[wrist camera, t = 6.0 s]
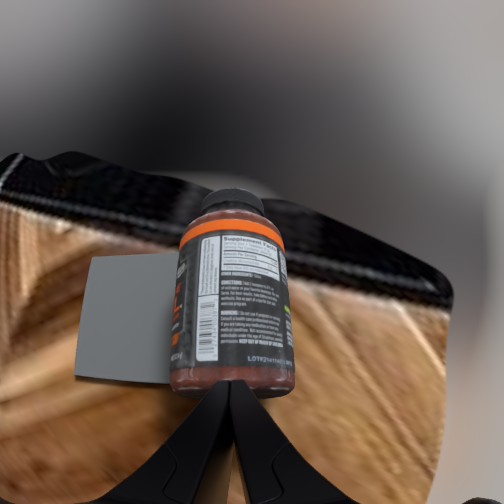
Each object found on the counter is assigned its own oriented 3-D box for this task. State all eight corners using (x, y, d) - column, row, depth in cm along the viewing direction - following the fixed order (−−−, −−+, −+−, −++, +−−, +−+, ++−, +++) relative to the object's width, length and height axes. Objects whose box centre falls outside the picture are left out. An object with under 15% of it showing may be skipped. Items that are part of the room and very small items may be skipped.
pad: (291, 379, 16) (292, 378, 16) (77, 375, 16) (74, 374, 15) (277, 250, 21) (278, 246, 20) (94, 259, 20) (92, 257, 20)
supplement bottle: (173, 399, 14) (185, 233, 21) (277, 401, 15) (267, 239, 22) (161, 388, 9) (185, 170, 16) (317, 388, 10) (290, 180, 17)
